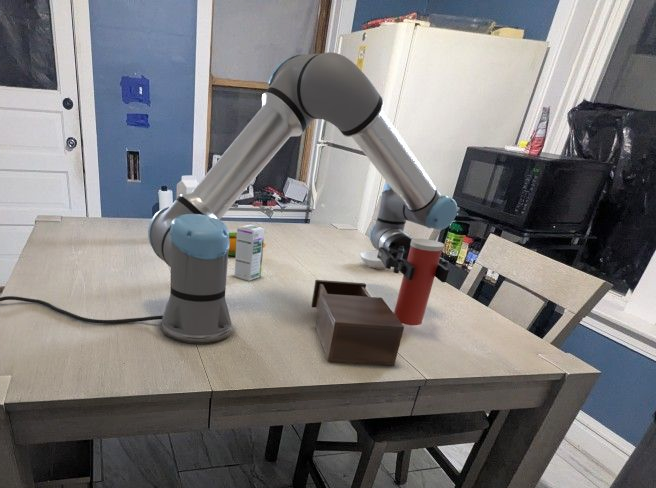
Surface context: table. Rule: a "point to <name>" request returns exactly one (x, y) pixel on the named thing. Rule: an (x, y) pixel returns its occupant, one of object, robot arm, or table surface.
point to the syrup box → (249, 252)
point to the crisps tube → (418, 281)
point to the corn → (234, 244)
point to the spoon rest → (372, 259)
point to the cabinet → (358, 330)
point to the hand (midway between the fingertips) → (428, 275)
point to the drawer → (337, 290)
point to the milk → (186, 184)
